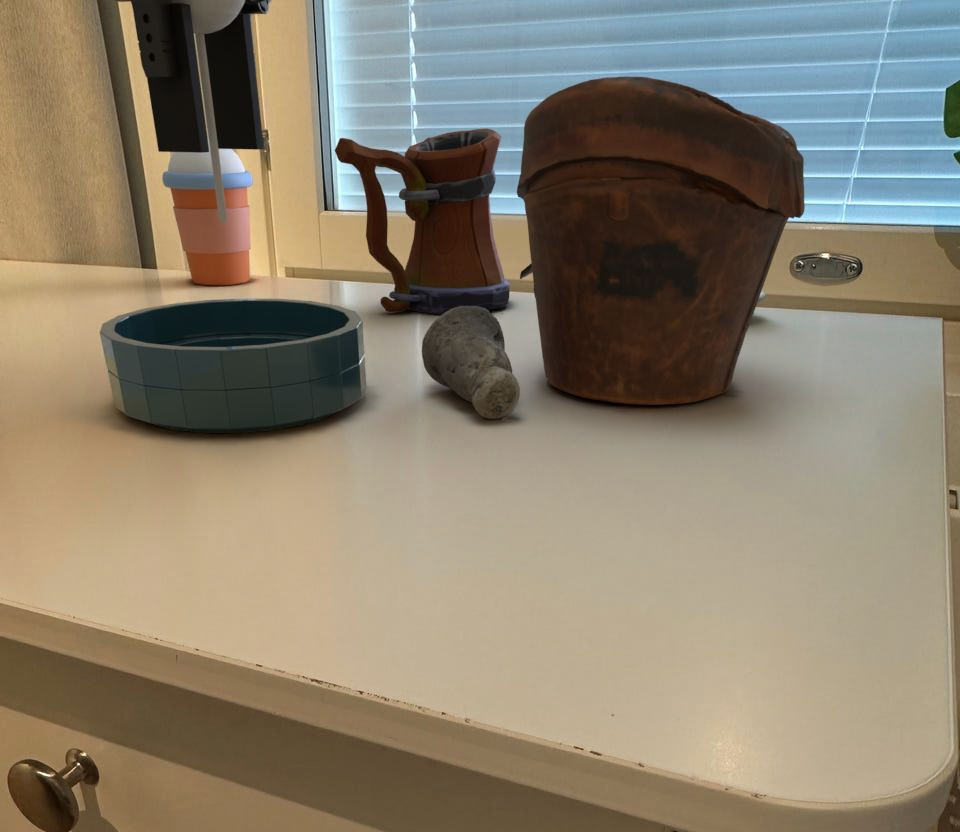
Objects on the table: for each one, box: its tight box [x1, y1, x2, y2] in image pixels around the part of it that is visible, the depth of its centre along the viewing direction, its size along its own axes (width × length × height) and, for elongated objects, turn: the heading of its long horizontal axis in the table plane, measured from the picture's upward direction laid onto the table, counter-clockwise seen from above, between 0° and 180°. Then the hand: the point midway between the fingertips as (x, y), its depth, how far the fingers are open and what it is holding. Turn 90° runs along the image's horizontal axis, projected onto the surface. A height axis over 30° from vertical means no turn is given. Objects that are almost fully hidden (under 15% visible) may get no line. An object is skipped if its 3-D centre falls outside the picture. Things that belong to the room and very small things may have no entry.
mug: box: [334, 128, 511, 315], centre depth 81 cm, size 18×12×15 cm, turn 132°
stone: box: [421, 306, 521, 420], centre depth 57 cm, size 10×5×8 cm
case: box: [516, 76, 806, 406], centre depth 58 cm, size 18×20×18 cm
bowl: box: [99, 297, 367, 434], centre depth 56 cm, size 16×16×5 cm
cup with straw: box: [161, 138, 254, 286], centre depth 93 cm, size 9×9×18 cm
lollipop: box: [170, 0, 245, 222], centre depth 48 cm, size 6×6×15 cm
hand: (213, 149), depth 50 cm, fingers closed on lollipop, 5 cm apart
